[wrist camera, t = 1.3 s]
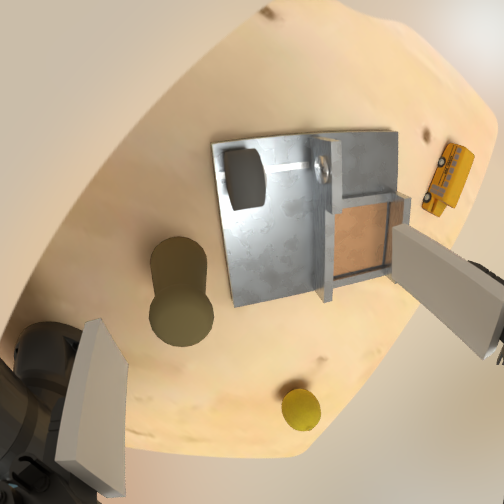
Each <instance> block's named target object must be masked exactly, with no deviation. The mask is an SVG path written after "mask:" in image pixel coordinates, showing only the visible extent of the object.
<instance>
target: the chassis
mask: <svg viewBox="0 0 504 504" xmlns="http://www.w3.org/2000/svg"><path fill="white" fill-rule="evenodd" d="M252 148H255V149H256V150H257V151H258V153H259V155H260V158H261V161H262V164H263V165H264V167H265V171H266V176H267V188H266V199H265V204H264V206H263V207H256V208H250V209H244V210H237V211H233V209H232V206H231V203H230V199H229V195H228V190H227V184H226V177H225V167H224V154H225V152H228V151H236V150H244V149H252ZM211 150H212V159H213V167H214V174H215V182H216V190H217V198H218V205H219V213H220V220H221V227H222V234H223V241H224V249H225V255H226V262H227V269H228V276H229V283H230V289H231V296H232V301H233V305H234V308H235V307H240V306H245V305H250V304H255V303H260V302H264V301H269V300H274V299H278V298H283V297H288V296H292V295H297V294H301V293H305V292H310V291H314V290H315V292H316V293H317V294H318V296H319V297H320V299H321V300H322V301H323V303H326V302H330V301H332V293H333V288H337V287H341V286H345V285H349V284H353V283H357V282H361V281H365V280H369V279H373V278H377V277H380V276H384V275H385V276H387V277H388V278H389V279H390V280H391V281H392V282H393V283H394V284H396V283H397V282H396V281H395V280H394V279H392V227H394V226H397V225H400V224H403V223H406V224H407V225H409V219H410V208H411V197H409V196H406V195H404V194H402V193H400V192H398V191H397V177H398V132H396V131H391V130H364V131H331V132H311V133H296V134H284V135H272V136H262V137H253V138H244V139H236V140H228V141H220V142H213V143H211Z"/></svg>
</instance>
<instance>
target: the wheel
mask: <svg viewBox="0 0 504 504" xmlns="http://www.w3.org/2000/svg"><path fill="white" fill-rule="evenodd" d="M224 167H225V177H226V184H227V190H228V195H229V199H230V203H231V206H232V209H233V211H237V210H244V209H250V208H256V207H263V206H264V204H265V199H266V188H267V176H266V171H265V167H264V165H263V164H262V161H261V158H260V155H259V153H258V151H257V150H256V149H255V148H252V149H244V150H236V151H228V152H225V154H224Z"/></svg>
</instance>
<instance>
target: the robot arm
mask: <svg viewBox="0 0 504 504" xmlns="http://www.w3.org/2000/svg"><path fill="white" fill-rule="evenodd" d="M392 279H394V280H395V281H396V282H397V283H398V284H399V285H401V286H402V287H403V288H404V289H405V290H406V291H408V292H409V293H410V294H411V295H412V296H413V297H414V298H416V299H417V300H418V301H419V302H420V303H421V304H423V305H424V306H425V307H426V308H427V309H428V310H429V311H431V312H432V313H433V314H434V315H435V316H436V317H437V318H438V319H439V320H440V321H442V322H443V323H444V324H445V325H446V326H447V327H448V328H449V329H450V330H451V331H452V332H453V333H455V334H456V335H457V336H458V337H459V338H460V339H461V340H462V341H463V342H464V343H465V344H466V345H467V346H468V347H469V348H470V349H472V350H473V351H474V352H475V353H476V354H477V355H478V356H479V357H480V358H481V359H482V360H485V359H486V358H487V357H488V356H490V355H491V354H492V353H494V352H495V350H496V347H497V345H498V342H499V340H501V341H502V342H503V343H504V280H503V279H501V278H500V277H498V276H496V275H495V274H494V273H492V272H491V271H490V272H489V270H488V269H486V268H485V267H483V266H482V265H480V264H478V263H475V262H472V261H469V260H468V261H466V260H465V259H463V258H462V257H460V256H458V255H457V254H455V253H454V252H452V251H451V250H449V249H448V248H446V247H444V246H443V245H441V244H439V243H438V242H436V241H435V240H433V239H431V238H430V237H428V236H426V235H425V234H423V233H421V232H419V231H418V230H416V229H414V228H413V227H411V226H409V225H407V224H406V223H403V224H400V225H397V226H394V227H392ZM502 357H503V363H502V365H504V345H503V347H502V350H501V352H500V354H499V357H498V359H497V365H499V363H500V361H501V358H502ZM127 376H128V363H127V361H126V360H125V358H124V356H123V355H122V353H121V352H120V350H119V348H118V347H117V345H116V343H115V342H114V340H113V338H112V337H111V335H110V333H109V332H108V330H107V328H106V326H105V325H104V323H103V321H102V319H101V318H99V319H95V320H92V321H88V322H86V323H85V326H84V329H83V331H81V330H79V329H77V328H75V327H72V326H69V325H66V324H62V323H57V322H40V323H36V324H33V325H31V326H29V327H27V328H26V329H25V330H24V331H23V332H22V333H21V335H20V337H19V339H18V341H17V343H16V346H15V350H14V368H13V371H12V370H11V369H10V368H9V367H8V366H7V365H6V364H5V362H4V361H3V360H2V359H1V358H0V504H102V503H100V502H99V501H98V500H97V492H98V493H100V494H101V495H103V496H104V497H106V498H114V497H126V489H125V413H126V392H127ZM503 504H504V501H503Z"/></svg>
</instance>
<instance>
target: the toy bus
mask: <svg viewBox="0 0 504 504" xmlns="http://www.w3.org/2000/svg"><path fill="white" fill-rule="evenodd" d="M474 157H475V155H474V154H473V153H472V152H471V151H469V150H468V149H467V148H466V147H464V146H461V145H458V144H453V143H450V144H448V146H447V147H446V149H445V151H444V153H443V155H442V157H441V158H440V159H439V161H438V166H439V167H438V168H437V170H436V173H435V175H434V178H433V180H432V183H431V185H430V188H429V190H428V193H426V194H425V196H424V199H423V200H424V203H423V205H422V208H423V209H424V210H426V211H428V212H430V213H432V214H433V215H435V216H437V217H440V215H441V214H442V212H443V211H444V209H445V208H446V206H447V205H448V206H450V207H452V208H455V207H456V205H457V202H458V200H459V197H460V195H461V192H462V190H463V187H464V185H465V182H466V180H467V177H468V174H469V172H470V169H471V166H472V163H473V160H474Z"/></svg>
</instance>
